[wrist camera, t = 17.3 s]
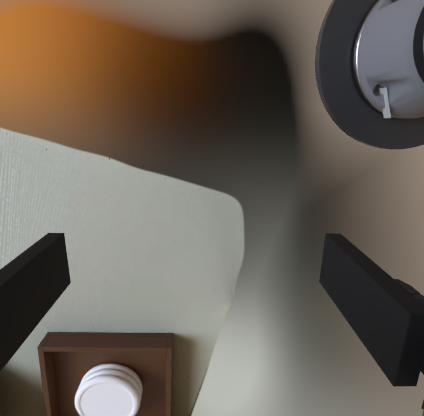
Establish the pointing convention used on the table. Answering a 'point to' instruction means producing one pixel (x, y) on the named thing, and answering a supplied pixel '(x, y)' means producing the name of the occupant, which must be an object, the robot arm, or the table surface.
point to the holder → (102, 354)
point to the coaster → (109, 391)
